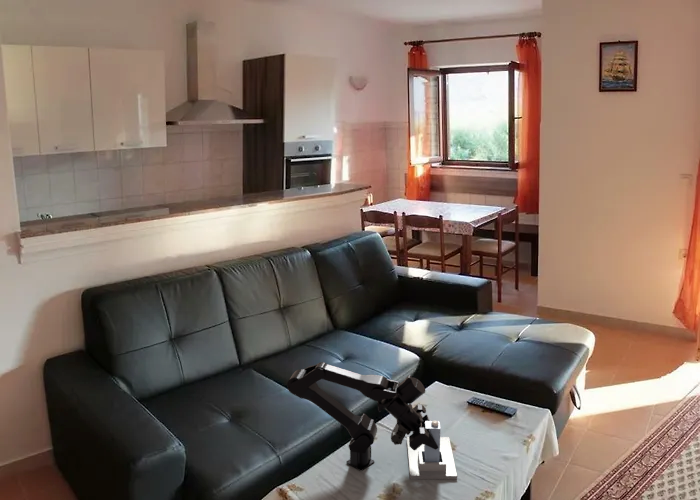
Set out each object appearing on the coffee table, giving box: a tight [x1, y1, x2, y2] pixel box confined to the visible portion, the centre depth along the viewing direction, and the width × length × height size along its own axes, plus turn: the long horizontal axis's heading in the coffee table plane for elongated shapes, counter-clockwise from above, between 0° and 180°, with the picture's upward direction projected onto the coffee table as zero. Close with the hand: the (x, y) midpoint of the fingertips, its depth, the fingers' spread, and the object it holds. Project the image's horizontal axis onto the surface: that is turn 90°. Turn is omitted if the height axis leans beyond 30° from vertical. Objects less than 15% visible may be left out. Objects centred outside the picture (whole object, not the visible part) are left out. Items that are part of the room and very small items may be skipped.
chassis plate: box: [406, 436, 458, 480], centre depth 206 cm, size 22×14×4 cm, turn 178°
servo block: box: [424, 420, 441, 462], centre depth 199 cm, size 4×4×13 cm
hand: (436, 444), depth 199 cm, fingers closed on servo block, 4 cm apart
